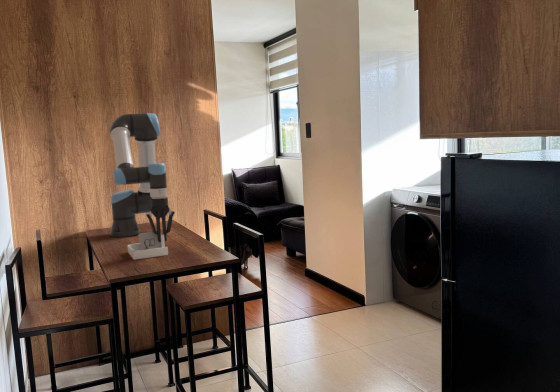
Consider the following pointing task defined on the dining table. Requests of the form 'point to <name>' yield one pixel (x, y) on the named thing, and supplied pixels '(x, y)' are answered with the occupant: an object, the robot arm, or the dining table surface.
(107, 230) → the dining table surface
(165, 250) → the u-shaped bracket
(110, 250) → the dining table surface
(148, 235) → the electrical switch
